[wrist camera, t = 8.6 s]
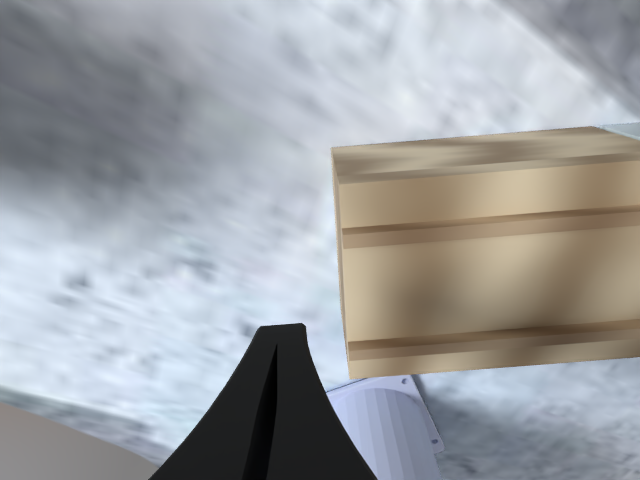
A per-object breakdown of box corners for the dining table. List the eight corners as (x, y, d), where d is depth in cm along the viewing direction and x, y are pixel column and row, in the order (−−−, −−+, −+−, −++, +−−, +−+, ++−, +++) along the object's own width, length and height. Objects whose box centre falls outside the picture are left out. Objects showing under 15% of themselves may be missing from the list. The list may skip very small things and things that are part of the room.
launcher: (340, 308, 24) (350, 389, 18) (330, 147, 19) (340, 189, 14) (632, 285, 24) (731, 359, 18) (692, 118, 19) (849, 148, 14)
